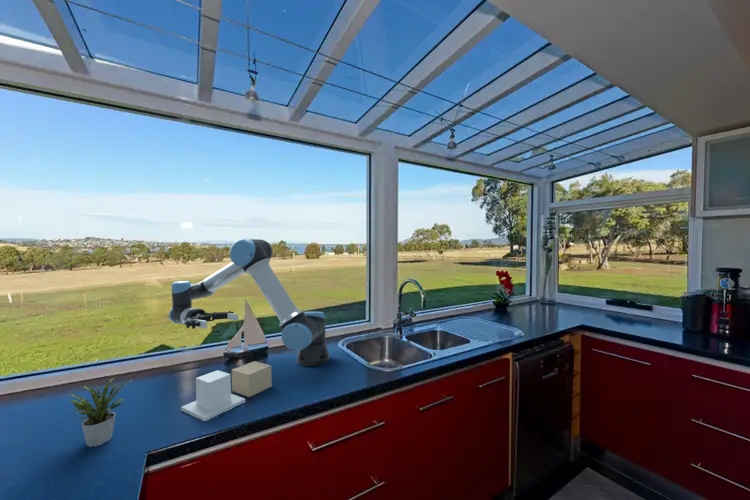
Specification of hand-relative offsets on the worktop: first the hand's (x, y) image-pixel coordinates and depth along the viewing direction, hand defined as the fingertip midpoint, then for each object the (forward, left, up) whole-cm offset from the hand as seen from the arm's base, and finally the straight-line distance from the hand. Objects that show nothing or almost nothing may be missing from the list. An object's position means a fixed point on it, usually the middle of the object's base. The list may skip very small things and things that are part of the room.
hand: (222, 320), depth 126 cm
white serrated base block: (-5, +22, -24) cm, 33 cm away
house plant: (+19, +36, -24) cm, 48 cm away
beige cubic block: (-14, +11, -24) cm, 30 cm away
